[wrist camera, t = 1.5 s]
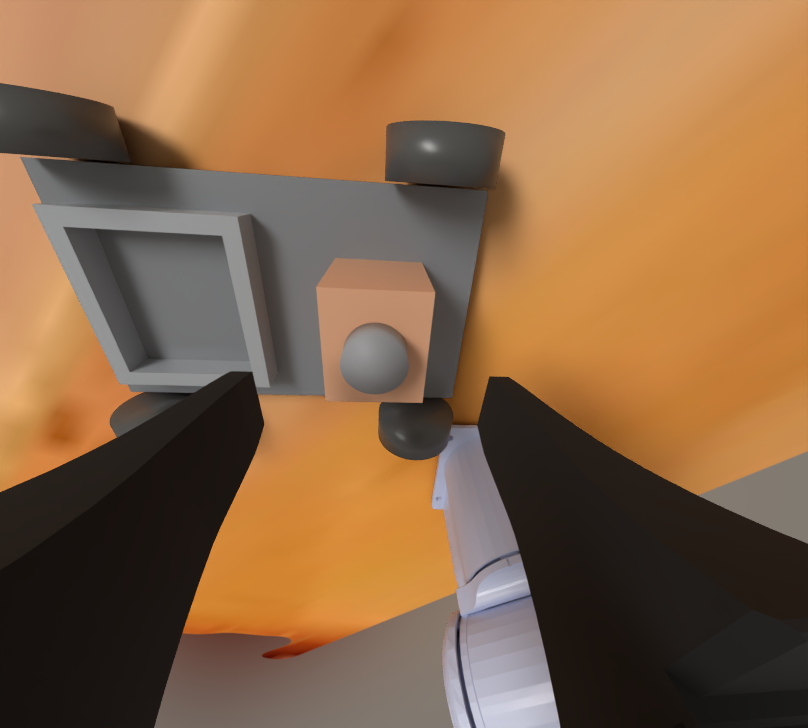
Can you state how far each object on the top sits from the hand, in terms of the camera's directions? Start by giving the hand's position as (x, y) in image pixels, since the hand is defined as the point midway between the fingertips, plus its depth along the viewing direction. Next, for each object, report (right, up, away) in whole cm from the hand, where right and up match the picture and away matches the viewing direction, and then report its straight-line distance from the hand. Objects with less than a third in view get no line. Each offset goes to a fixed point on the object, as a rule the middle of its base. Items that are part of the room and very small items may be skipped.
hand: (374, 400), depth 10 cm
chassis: (-6, +5, +8) cm, 11 cm away
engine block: (-1, +4, +7) cm, 9 cm away
